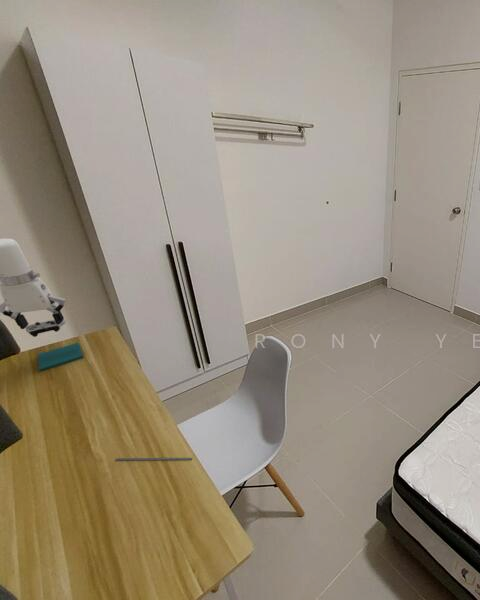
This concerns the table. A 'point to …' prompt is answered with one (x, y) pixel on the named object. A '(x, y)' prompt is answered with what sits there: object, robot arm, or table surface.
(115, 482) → the table surface
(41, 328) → the game controller
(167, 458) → the rod
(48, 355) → the pad
